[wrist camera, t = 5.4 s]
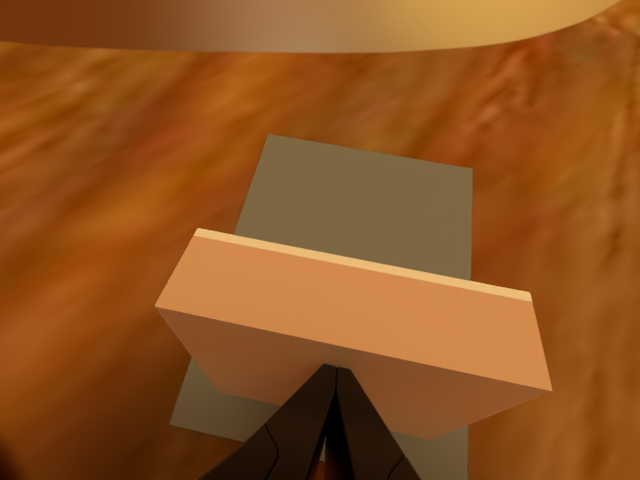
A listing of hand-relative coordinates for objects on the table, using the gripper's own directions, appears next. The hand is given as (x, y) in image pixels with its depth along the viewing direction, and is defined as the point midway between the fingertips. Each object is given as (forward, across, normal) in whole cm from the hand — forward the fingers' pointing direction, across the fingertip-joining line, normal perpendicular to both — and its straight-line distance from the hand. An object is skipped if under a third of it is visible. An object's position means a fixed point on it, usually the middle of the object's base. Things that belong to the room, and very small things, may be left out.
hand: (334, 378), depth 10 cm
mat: (+10, 0, -2) cm, 10 cm away
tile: (+5, 0, -5) cm, 7 cm away
